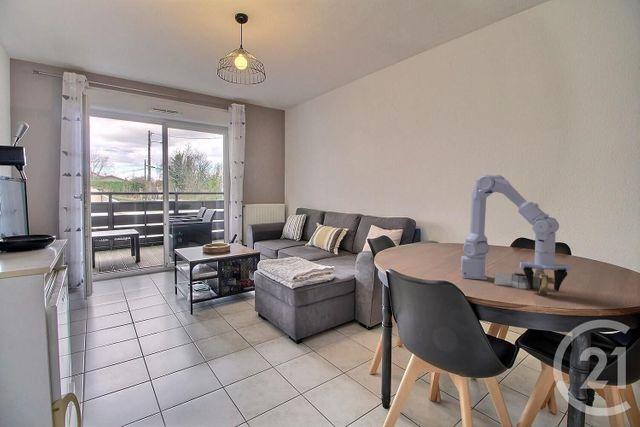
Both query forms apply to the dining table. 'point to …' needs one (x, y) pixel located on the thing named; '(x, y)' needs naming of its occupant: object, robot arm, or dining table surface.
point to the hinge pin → (543, 284)
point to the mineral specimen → (536, 272)
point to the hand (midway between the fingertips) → (543, 289)
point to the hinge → (515, 280)
